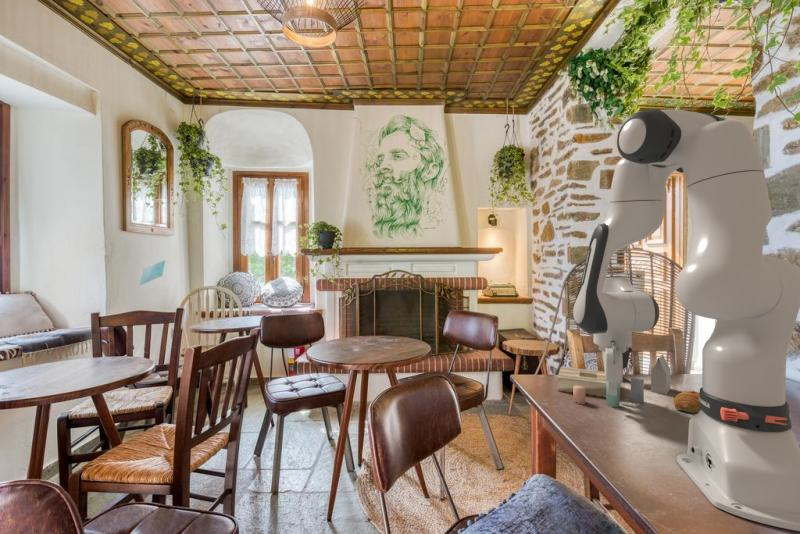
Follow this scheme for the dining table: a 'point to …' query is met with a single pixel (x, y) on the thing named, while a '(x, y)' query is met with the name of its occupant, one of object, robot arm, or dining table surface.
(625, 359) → the sundae
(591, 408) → the dining table surface
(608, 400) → the long dowel
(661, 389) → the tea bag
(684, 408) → the pastry
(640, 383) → the medium dowel
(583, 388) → the short dowel
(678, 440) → the dining table surface
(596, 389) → the hole block
